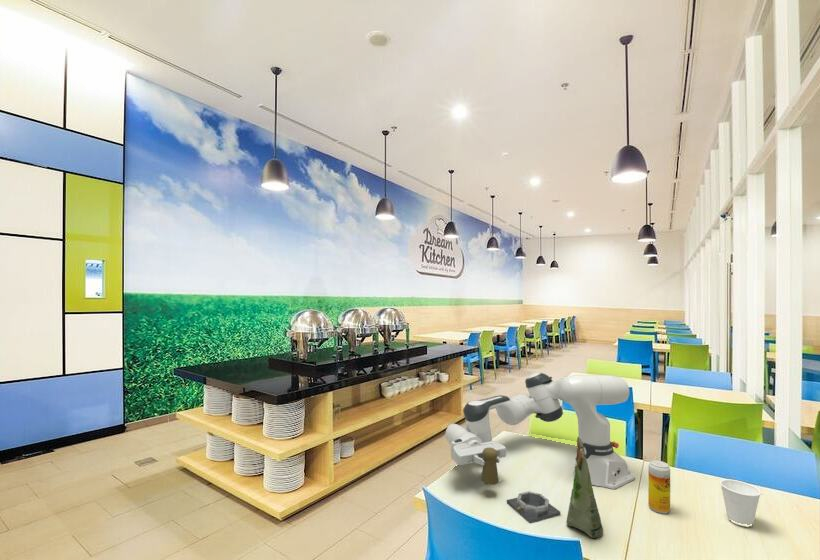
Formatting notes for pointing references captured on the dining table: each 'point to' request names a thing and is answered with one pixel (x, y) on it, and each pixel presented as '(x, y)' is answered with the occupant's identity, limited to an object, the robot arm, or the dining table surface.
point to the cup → (740, 500)
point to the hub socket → (533, 507)
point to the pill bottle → (659, 486)
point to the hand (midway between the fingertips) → (491, 462)
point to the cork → (490, 467)
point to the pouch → (583, 499)
